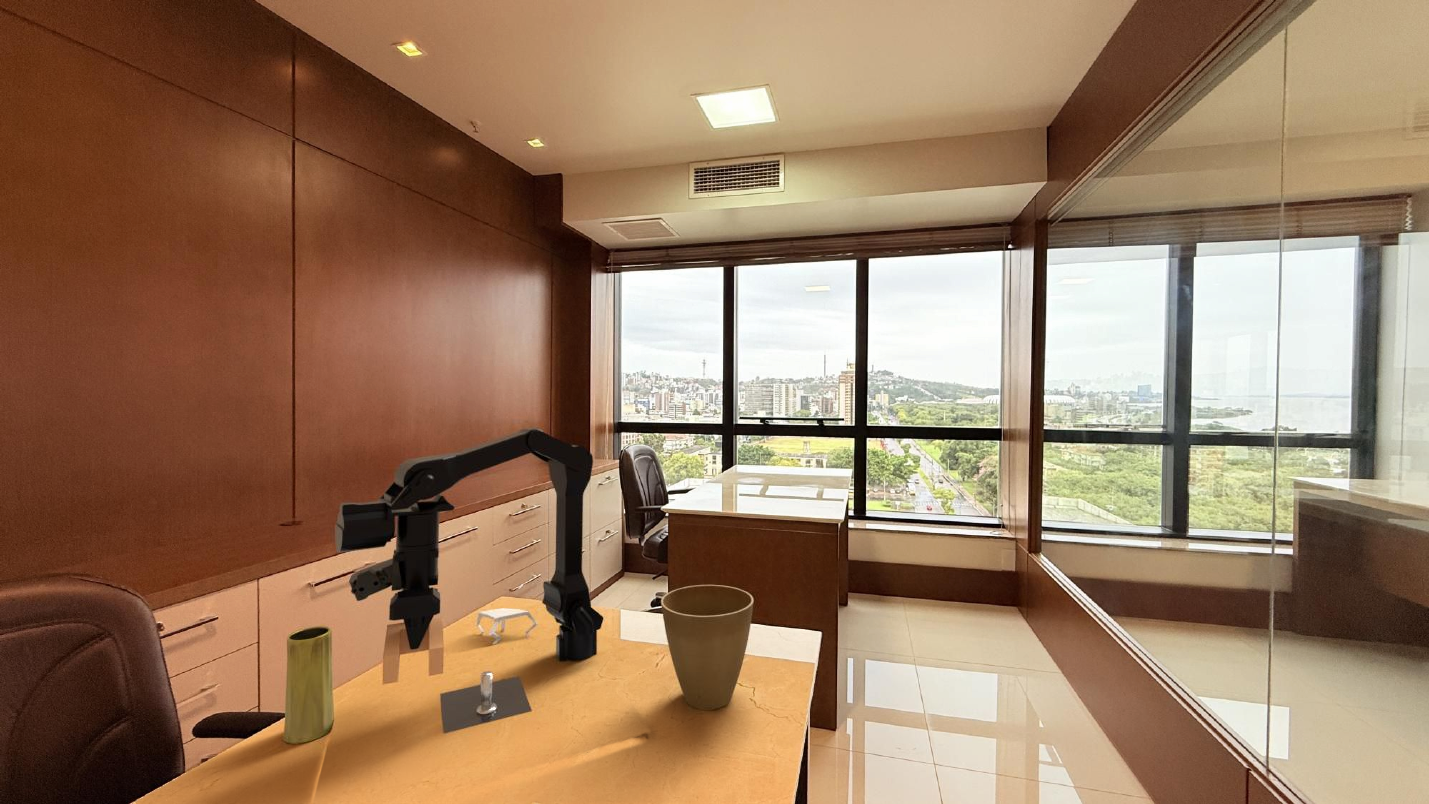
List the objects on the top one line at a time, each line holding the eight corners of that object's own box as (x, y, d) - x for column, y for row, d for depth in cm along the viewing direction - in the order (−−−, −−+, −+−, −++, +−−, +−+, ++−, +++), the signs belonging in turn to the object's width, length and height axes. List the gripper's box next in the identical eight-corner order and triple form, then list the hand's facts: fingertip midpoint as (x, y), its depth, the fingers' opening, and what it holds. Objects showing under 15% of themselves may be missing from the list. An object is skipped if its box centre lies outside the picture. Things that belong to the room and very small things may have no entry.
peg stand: (518, 681, 94) (518, 643, 94) (531, 717, 84) (531, 674, 84) (440, 699, 89) (440, 659, 89) (443, 740, 78) (443, 694, 78)
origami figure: (472, 649, 107) (472, 624, 107) (476, 632, 115) (476, 608, 115) (537, 641, 110) (537, 617, 110) (537, 625, 118) (537, 602, 118)
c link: (441, 641, 87) (442, 616, 86) (443, 673, 79) (443, 646, 78) (386, 650, 83) (387, 624, 83) (382, 684, 75) (382, 656, 75)
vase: (307, 747, 76) (307, 644, 76) (271, 741, 78) (271, 640, 78) (345, 722, 82) (345, 626, 82) (310, 717, 84) (311, 623, 84)
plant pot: (766, 685, 93) (766, 590, 93) (731, 734, 80) (731, 622, 80) (687, 667, 99) (687, 578, 99) (643, 709, 86) (643, 606, 86)
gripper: (361, 534, 89) (358, 632, 88) (346, 563, 72) (342, 684, 72) (439, 528, 94) (436, 621, 94) (441, 554, 77) (438, 667, 77)
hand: (414, 645), depth 84 cm, fingers closed on c link, 2 cm apart
